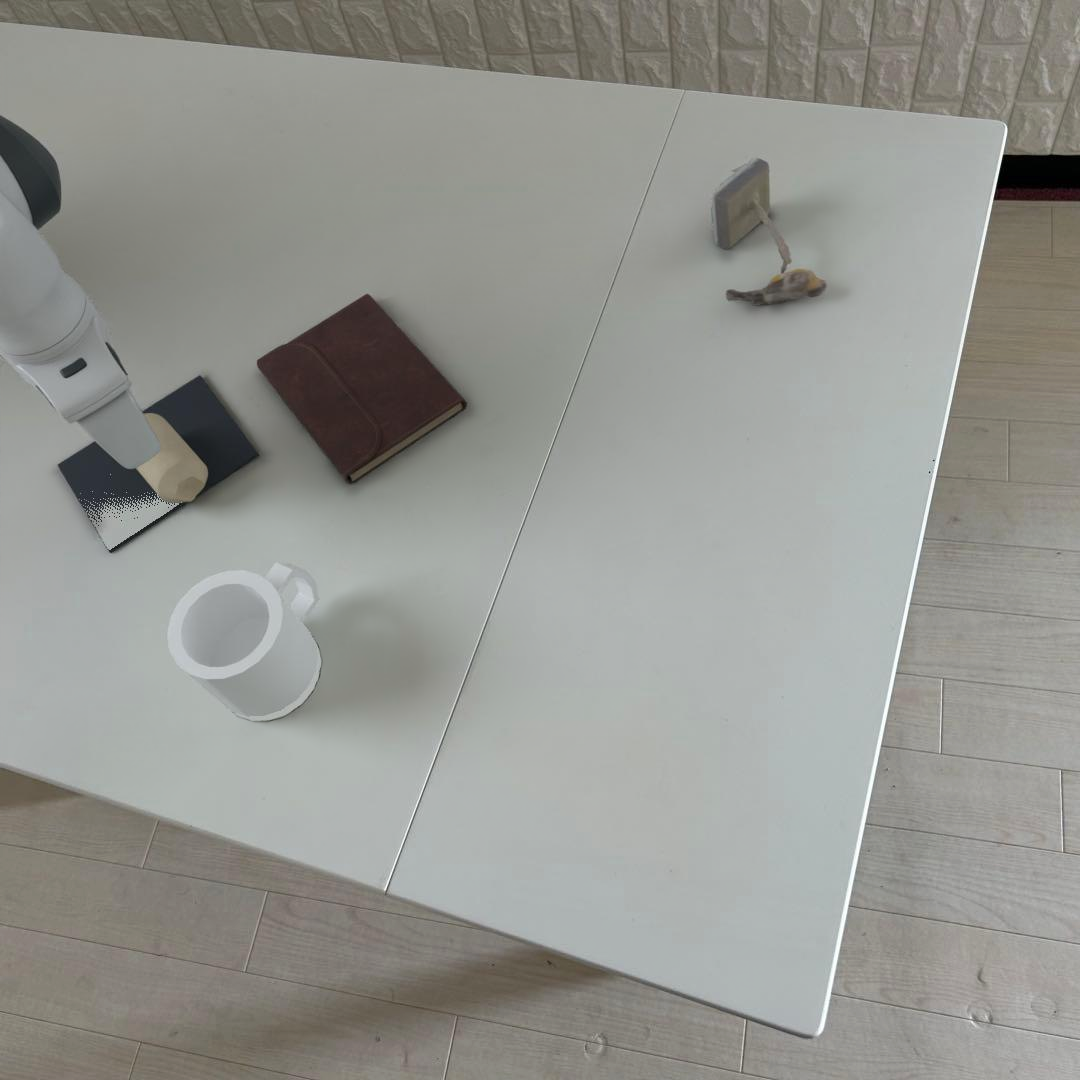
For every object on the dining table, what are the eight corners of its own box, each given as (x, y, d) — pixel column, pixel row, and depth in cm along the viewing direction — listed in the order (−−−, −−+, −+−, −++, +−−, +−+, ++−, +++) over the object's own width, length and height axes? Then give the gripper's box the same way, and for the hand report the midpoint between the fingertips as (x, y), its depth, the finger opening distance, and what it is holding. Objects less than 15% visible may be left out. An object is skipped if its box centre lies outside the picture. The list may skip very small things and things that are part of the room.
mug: (277, 577, 103) (235, 523, 94) (361, 616, 100) (327, 565, 91) (195, 694, 98) (143, 650, 89) (281, 740, 95) (236, 699, 86)
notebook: (373, 301, 119) (368, 289, 118) (468, 407, 110) (464, 395, 108) (260, 372, 116) (254, 360, 115) (349, 486, 107) (343, 476, 106)
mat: (110, 553, 107) (108, 551, 107) (59, 467, 114) (56, 464, 113) (259, 455, 111) (257, 453, 110) (201, 377, 117) (199, 374, 117)
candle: (165, 406, 110) (215, 461, 105) (168, 446, 114) (215, 501, 109) (115, 421, 107) (163, 478, 102) (119, 462, 110) (166, 519, 106)
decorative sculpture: (828, 300, 111) (836, 250, 104) (744, 332, 110) (747, 284, 104) (760, 203, 119) (764, 151, 112) (681, 232, 118) (680, 182, 112)
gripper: (-18, 291, 96) (62, 383, 108) (66, 426, 87) (144, 511, 99) (43, 255, 98) (115, 350, 110) (132, 385, 88) (201, 473, 100)
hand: (130, 427), depth 104 cm, fingers closed
